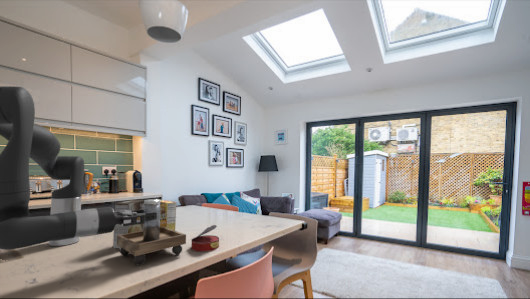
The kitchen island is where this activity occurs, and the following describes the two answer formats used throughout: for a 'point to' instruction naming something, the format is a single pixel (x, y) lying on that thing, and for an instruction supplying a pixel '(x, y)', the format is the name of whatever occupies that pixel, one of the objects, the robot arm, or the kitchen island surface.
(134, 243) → the tray
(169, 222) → the candy box
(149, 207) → the canister
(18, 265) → the kitchen island surface
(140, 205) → the coffee box
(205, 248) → the canned food
